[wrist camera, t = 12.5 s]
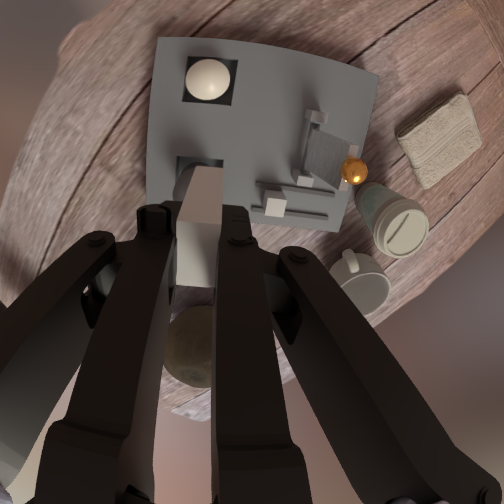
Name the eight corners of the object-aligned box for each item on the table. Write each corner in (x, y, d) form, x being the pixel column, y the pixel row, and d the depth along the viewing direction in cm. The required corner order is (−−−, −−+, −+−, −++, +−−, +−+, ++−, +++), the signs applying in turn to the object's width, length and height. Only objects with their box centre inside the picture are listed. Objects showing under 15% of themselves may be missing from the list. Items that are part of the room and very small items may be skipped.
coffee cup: (383, 164, 40) (426, 194, 30) (397, 207, 44) (435, 243, 34) (339, 188, 42) (372, 224, 32) (356, 229, 46) (387, 271, 36)
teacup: (373, 283, 53) (389, 310, 47) (322, 297, 54) (334, 327, 47) (373, 223, 46) (394, 248, 39) (314, 238, 47) (329, 267, 40)
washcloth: (476, 139, 37) (487, 144, 35) (418, 189, 43) (428, 196, 40) (456, 85, 32) (467, 87, 29) (391, 134, 38) (401, 139, 35)
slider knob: (262, 205, 38) (264, 215, 36) (265, 189, 37) (267, 197, 34) (279, 207, 38) (283, 217, 36) (282, 191, 37) (287, 200, 35)
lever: (293, 170, 34) (343, 205, 26) (303, 120, 30) (361, 142, 23) (311, 171, 35) (363, 206, 27) (322, 124, 31) (380, 147, 24)
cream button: (189, 96, 32) (183, 98, 27) (194, 62, 29) (188, 57, 24) (227, 99, 32) (226, 101, 28) (232, 65, 30) (232, 61, 25)
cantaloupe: (200, 275, 49) (194, 343, 36) (254, 316, 55) (261, 380, 43) (153, 314, 53) (140, 376, 41) (205, 346, 60) (203, 406, 47)
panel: (152, 202, 41) (140, 223, 35) (165, 41, 28) (151, 33, 22) (330, 220, 45) (345, 243, 39) (366, 75, 32) (390, 76, 26)
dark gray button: (179, 195, 36) (171, 213, 32) (181, 160, 34) (173, 173, 29) (214, 198, 37) (212, 216, 32) (218, 163, 35) (217, 177, 30)
